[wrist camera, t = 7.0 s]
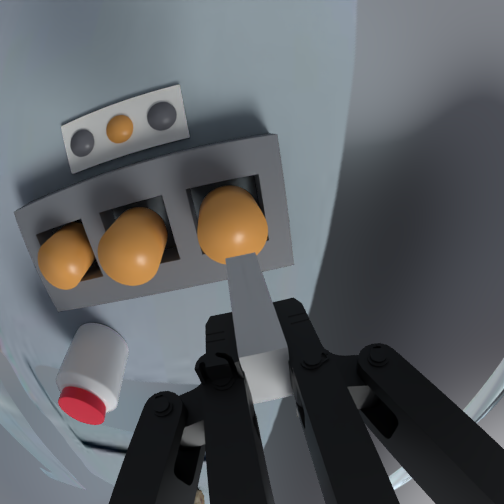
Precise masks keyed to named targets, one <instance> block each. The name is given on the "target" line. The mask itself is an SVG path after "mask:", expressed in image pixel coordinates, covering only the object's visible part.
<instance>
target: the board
mask: <svg viewBox="0 0 504 504" xmlns="http://www.w3.org/2000/svg"><path fill="white" fill-rule="evenodd" d="M251 175H254V177H255V183H256V189H257V195H258V201H259V207H260V210H261V211H262V213H263V215H264V217H265V219H266V221H267V225H268V236H267V240H266V243H265V245H264V247H263V249H262V250H261V251H260V252H259V254H258V255H256V256H257V259H258V262H259V265H260V268H261V271H262V272H264V271H269V270H273V269H278V268H282V267H287V266H291V265H294V260H293V251H292V242H291V233H290V224H289V216H288V208H287V200H286V192H285V184H284V177H283V170H282V163H281V156H280V149H279V142H278V136H277V134H271V133H269V134H262V135H256V136H250V137H244V138H238V139H233V140H227V141H222V142H217V143H212V144H208V145H203V146H198V147H194V148H190V149H185V150H181V151H177V152H173V153H169V154H166V155H162V156H158V157H154V158H151V159H147V160H144V161H140V162H137V163H134V164H130V165H127V166H124V167H121V168H118V169H115V170H112V171H109V172H106V173H103V174H100V175H97V176H94V177H91V178H89V179H86V180H83V181H80V182H78V183H75V184H73V185H70V186H68V187H65V188H63V189H60V190H58V191H55V192H53V193H50V194H48V195H46V196H43V197H41V198H39V199H37V200H35V201H32V202H30V203H28V204H26V205H25V206H23V207H21V208H20V209H18V210H16V211H15V212H14V214H15V217H16V220H17V223H18V226H19V229H20V231H21V234H22V237H23V239H24V242H25V244H26V247H27V249H28V251H29V254H30V256H31V258H32V261H33V263H34V265H35V267H36V270H37V272H38V274H39V276H40V278H41V280H42V282H43V284H44V286H45V288H46V290H47V292H48V294H49V296H50V298H51V300H52V302H53V303H54V305H55V307H56V309H57V311H58V312H60V311H66V310H72V309H78V308H83V307H89V306H95V305H100V304H106V303H111V302H117V301H122V300H127V299H133V298H138V297H143V296H148V295H153V294H158V293H164V292H169V291H174V290H179V289H184V288H189V287H193V286H198V285H203V284H208V283H213V282H218V281H222V280H227V279H228V277H227V269H226V264H221V263H218V262H216V261H214V260H212V259H211V258H209V257H208V256H207V255H206V254H205V253H204V252H203V250H202V249H201V247H200V245H199V242H198V237H197V229H198V220H197V216H196V212H195V208H194V204H193V200H192V196H191V191H190V188H193V187H198V186H202V185H206V184H211V183H216V182H220V181H225V180H230V179H235V178H240V177H245V176H251ZM160 195H162V196H163V200H164V204H165V208H166V211H167V215H168V218H169V222H170V226H171V229H172V232H173V236H174V239H175V243H176V246H177V247H174V248H170V249H166V250H164V252H163V255H162V258H161V262H160V265H159V268H158V271H157V273H156V274H155V276H154V277H153V278H152V279H151V280H149V281H148V282H146V283H144V284H141V285H137V286H129V285H124V284H121V283H118V282H116V281H115V280H113V279H112V278H110V277H109V276H108V275H107V274H106V273H105V271H104V270H103V268H102V267H101V265H100V262H99V259H98V244H99V241H100V239H101V237H102V236H103V235H104V233H105V232H106V231H107V230H108V229H109V228H110V226H111V225H112V224H113V223H114V222H115V218H114V215H113V212H112V209H113V208H117V207H120V206H124V205H127V204H131V203H134V202H138V201H141V200H145V199H149V198H153V197H156V196H160ZM78 219H81V220H82V223H83V226H84V229H85V231H86V234H87V237H88V239H89V242H90V245H91V247H92V250H93V252H94V255H95V257H96V260H97V262H98V265H97V266H93V267H89V269H88V270H87V272H86V273H85V275H84V276H83V277H82V279H81V280H80V282H79V283H78V285H77V286H76V287H74V288H72V289H68V290H63V289H59V288H57V287H55V286H53V285H52V284H50V283H49V282H48V281H47V280H46V279H45V277H44V276H43V275H42V273H41V271H40V268H39V265H38V252H39V249H40V247H41V246H42V245H43V244H44V243H45V242H46V241H47V240H48V239H49V238H50V237H51V236H53V232H52V228H55V227H58V226H61V225H64V224H66V223H69V222H72V221H75V220H78Z"/></svg>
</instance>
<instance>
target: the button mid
mask: <svg viewBox="0 0 504 504" xmlns="http://www.w3.org/2000/svg"><path fill="white" fill-rule="evenodd" d="M167 238H168V232H167V227H166V225H165V223H164V221H163V219H162V218H161V217H160V216H159V215H158V214H157V213H156V212H154V211H153V210H151V209H148V208H145V207H133V208H130V209H128V210H126V211H124V212H123V213H122V214H121V215H120V216H119V217H118V218H117V220H116V221H115V222H114V223H113V224H112V225H111V226H110V228H109V229H108V230H107V231H106V232H105V233H104V235H103V236H102V237H101V239H100V241H99V244H98V259H99V262H100V265H101V267H102V268H103V270H104V271H105V273H106V274H107V275H108V276H109V277H110V278H112V279H113V280H115V281H116V282H118V283H121V284H124V285H129V286H137V285H141V284H144V283H146V282H148V281H149V280H151V279H152V278H153V277H154V276H155V274H156V273H157V271H158V268H159V265H160V262H161V258H162V255H163V252H164V249H165V246H166V243H167Z"/></svg>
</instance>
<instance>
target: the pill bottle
mask: <svg viewBox="0 0 504 504" xmlns="http://www.w3.org/2000/svg"><path fill="white" fill-rule="evenodd" d="M128 355H129V348H128V345H127V343H126V341H125V340H124V339H123V337H122V336H121V335H120V334H119V333H117V332H116V331H115V330H113V329H111V328H110V327H108V326H105V325H102V324H98V323H86V324H83V325H82V326H80V327H79V328H78V330H77V331H76V334H75V336H74V338H73V340H72V342H71V344H70V346H69V349H68V351H67V353H66V355H65V358H64V360H63V362H62V365H61V367H60V369H59V372H58V374H57V377H56V384H57V387H58V389H59V391H60V393H61V394H60V397H59V400H58V403H59V406H60V407H61V409H62V410H63V411H64V412H65V413H66V414H68V415H69V416H71V417H72V418H74V419H76V420H78V421H80V422H83V423H86V424H91V425H99V424H102V423H103V422H104V418H105V414H106V413H108V412H111V411H113V410H114V409H115V408H116V407H117V404H118V399H119V394H120V389H121V385H122V380H123V376H124V372H125V367H126V363H127V359H128Z"/></svg>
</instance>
